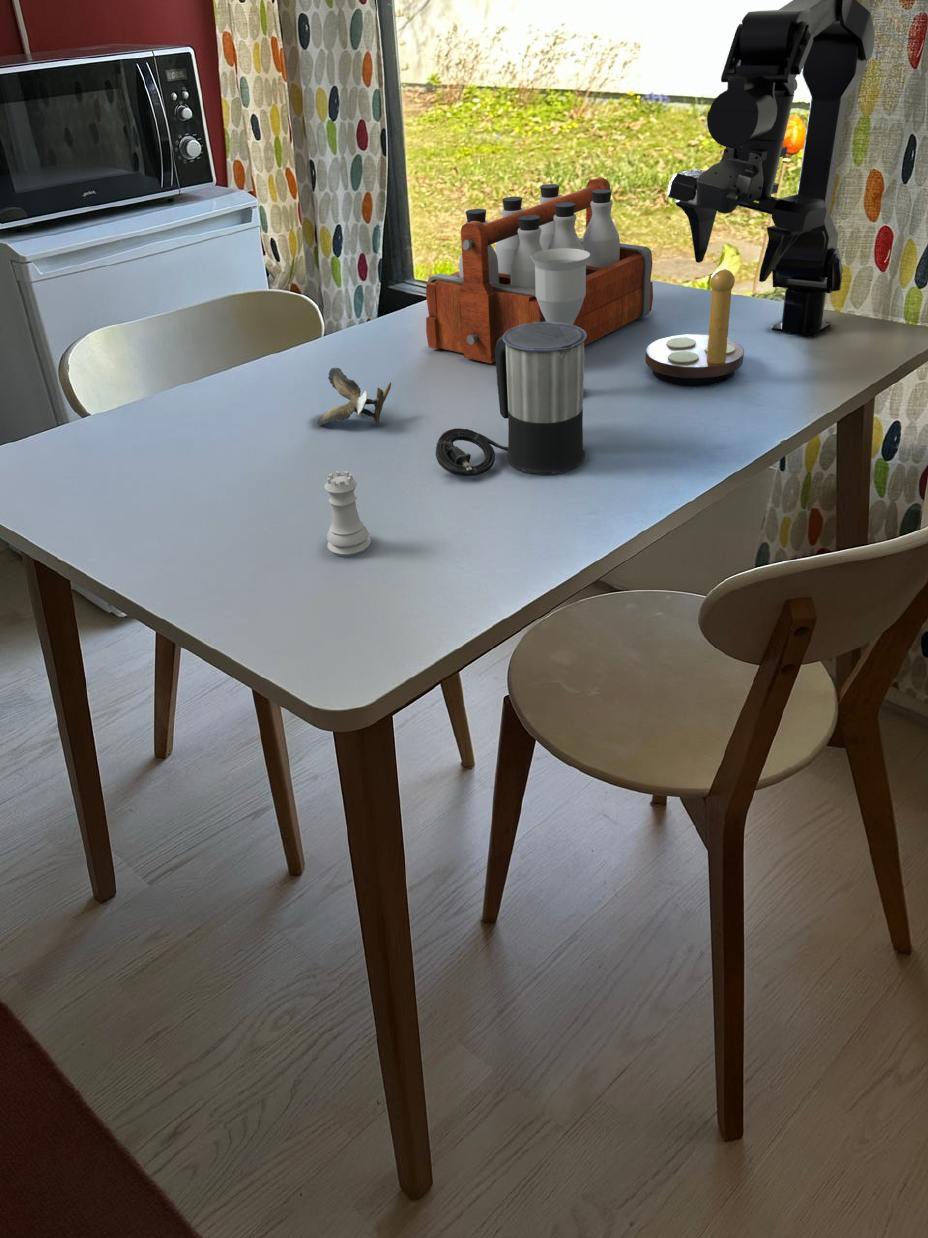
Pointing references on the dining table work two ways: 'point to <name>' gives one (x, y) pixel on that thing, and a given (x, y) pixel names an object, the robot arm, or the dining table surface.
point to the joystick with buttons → (701, 341)
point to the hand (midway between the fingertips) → (729, 271)
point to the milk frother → (531, 403)
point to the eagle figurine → (352, 399)
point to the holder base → (692, 379)
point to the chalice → (560, 283)
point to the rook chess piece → (345, 517)
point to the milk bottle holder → (505, 277)
